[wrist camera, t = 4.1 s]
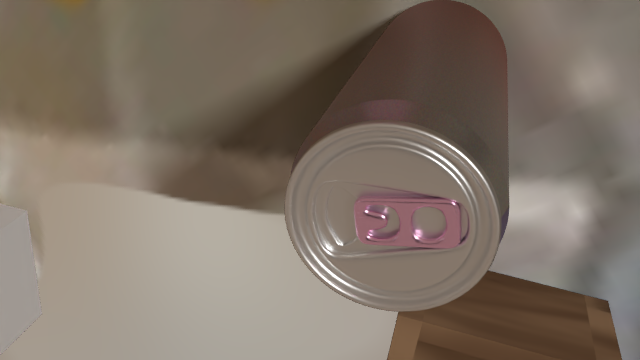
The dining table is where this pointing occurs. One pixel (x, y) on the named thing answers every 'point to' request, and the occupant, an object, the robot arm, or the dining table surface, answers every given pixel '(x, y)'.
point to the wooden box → (508, 325)
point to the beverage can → (409, 165)
